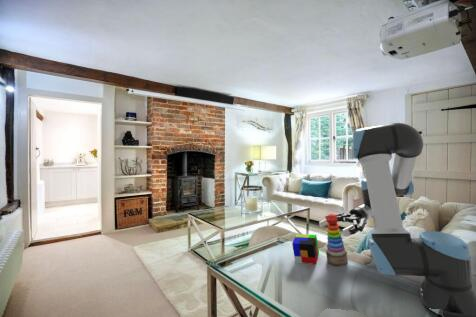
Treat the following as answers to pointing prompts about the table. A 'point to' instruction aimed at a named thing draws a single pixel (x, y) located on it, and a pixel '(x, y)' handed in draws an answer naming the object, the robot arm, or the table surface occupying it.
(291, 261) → the table surface
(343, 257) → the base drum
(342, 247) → the stacking toy
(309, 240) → the puzzle toy
